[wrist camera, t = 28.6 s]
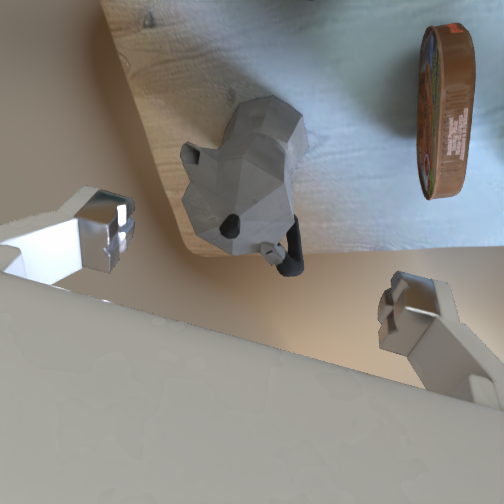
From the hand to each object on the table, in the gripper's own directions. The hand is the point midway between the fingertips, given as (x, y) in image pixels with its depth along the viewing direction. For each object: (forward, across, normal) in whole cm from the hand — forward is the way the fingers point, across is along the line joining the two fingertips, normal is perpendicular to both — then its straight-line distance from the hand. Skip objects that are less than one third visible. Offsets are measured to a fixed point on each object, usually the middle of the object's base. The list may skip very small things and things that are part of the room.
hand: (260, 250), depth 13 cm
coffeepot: (+33, +2, +12) cm, 35 cm away
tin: (+33, -12, +4) cm, 36 cm away
